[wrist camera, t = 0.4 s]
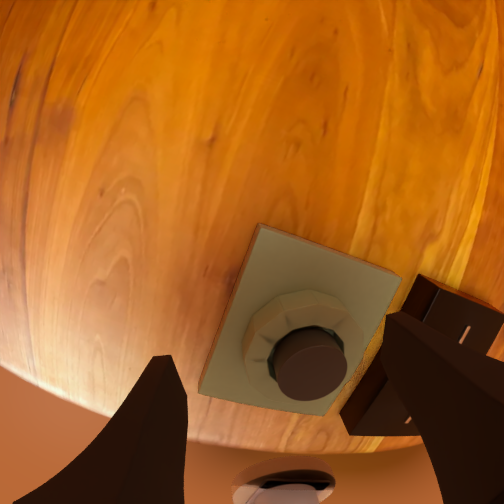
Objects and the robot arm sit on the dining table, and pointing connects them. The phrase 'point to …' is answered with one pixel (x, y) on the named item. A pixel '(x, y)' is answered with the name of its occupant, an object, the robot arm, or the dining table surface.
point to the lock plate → (439, 318)
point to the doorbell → (292, 316)
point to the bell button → (309, 364)
